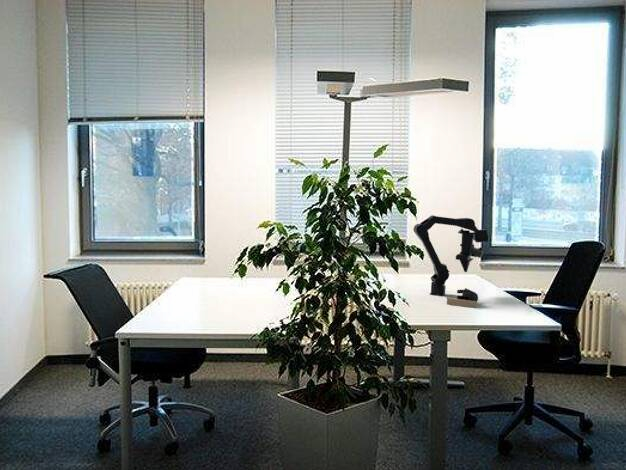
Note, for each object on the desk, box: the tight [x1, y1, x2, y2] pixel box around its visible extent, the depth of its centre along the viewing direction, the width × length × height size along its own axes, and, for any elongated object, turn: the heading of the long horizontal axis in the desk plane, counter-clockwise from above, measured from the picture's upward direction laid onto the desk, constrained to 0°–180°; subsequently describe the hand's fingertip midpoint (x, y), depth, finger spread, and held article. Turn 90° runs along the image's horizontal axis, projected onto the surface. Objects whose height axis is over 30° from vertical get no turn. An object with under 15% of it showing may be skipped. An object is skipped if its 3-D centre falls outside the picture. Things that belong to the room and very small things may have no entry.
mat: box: [446, 297, 485, 309], centre depth 316 cm, size 14×15×3 cm
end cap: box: [456, 288, 479, 302], centre depth 314 cm, size 10×7×7 cm
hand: (465, 272), depth 338 cm, fingers closed
